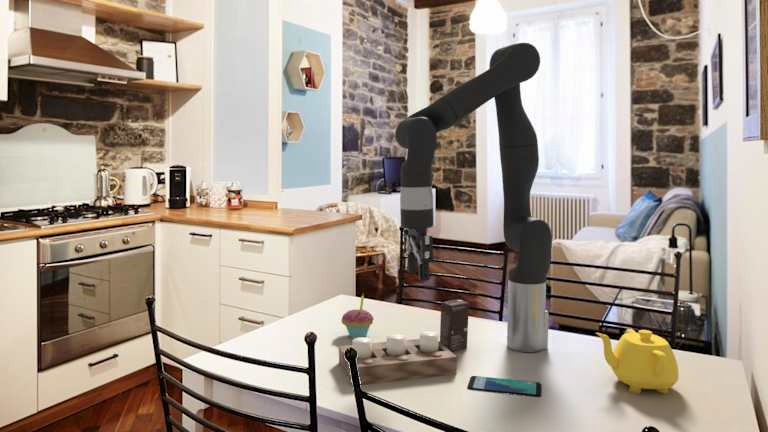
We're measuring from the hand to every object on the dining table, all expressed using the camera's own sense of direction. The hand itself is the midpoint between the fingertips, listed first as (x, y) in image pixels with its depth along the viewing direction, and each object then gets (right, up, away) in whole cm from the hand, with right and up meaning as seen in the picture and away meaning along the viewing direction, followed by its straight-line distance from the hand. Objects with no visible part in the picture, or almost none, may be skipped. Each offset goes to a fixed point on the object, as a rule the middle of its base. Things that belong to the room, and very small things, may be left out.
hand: (418, 276), depth 129 cm
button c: (-13, -18, -3) cm, 23 cm away
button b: (-5, -18, -1) cm, 19 cm away
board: (-5, -21, 0) cm, 22 cm away
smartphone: (+18, -23, -11) cm, 31 cm away
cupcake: (-15, -19, +23) cm, 34 cm away
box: (+10, -20, +13) cm, 26 cm away
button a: (+3, -18, +2) cm, 18 cm away
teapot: (+45, -22, -10) cm, 51 cm away
